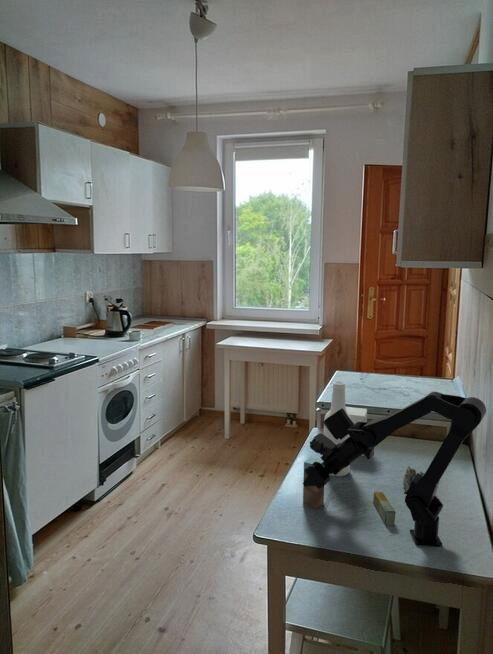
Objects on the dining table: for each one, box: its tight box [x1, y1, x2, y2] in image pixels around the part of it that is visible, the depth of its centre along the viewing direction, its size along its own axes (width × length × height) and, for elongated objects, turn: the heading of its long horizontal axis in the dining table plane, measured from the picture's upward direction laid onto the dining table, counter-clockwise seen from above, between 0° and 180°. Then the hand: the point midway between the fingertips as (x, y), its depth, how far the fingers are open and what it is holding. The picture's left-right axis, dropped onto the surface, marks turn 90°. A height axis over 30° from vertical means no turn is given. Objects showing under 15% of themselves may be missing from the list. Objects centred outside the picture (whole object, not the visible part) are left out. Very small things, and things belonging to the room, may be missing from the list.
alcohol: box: [323, 381, 351, 478], centre depth 165 cm, size 9×9×30 cm
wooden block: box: [302, 456, 325, 510], centre depth 145 cm, size 4×4×13 cm
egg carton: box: [402, 465, 426, 491], centre depth 157 cm, size 11×8×4 cm
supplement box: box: [346, 406, 368, 457], centre depth 183 cm, size 9×9×15 cm
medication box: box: [372, 491, 396, 527], centre depth 140 cm, size 12×3×4 cm, turn 2°
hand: (309, 480), depth 145 cm, fingers open, 7 cm apart
